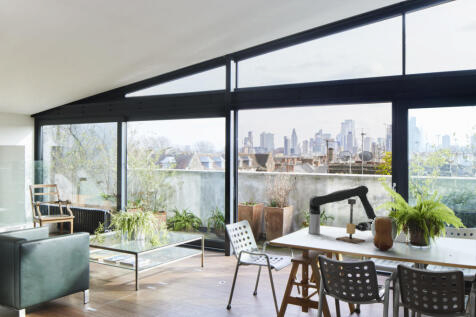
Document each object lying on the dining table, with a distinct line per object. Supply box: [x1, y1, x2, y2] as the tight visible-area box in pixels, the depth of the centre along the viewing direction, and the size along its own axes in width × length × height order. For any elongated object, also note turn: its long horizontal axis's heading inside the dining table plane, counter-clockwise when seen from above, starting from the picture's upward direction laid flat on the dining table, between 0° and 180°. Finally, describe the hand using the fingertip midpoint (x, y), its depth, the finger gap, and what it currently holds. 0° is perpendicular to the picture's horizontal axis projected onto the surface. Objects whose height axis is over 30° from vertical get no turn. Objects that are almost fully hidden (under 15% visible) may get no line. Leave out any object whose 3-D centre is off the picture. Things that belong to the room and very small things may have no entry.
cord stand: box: [335, 198, 366, 244], centre depth 344 cm, size 18×14×34 cm
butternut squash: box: [373, 216, 394, 252], centre depth 311 cm, size 14×13×25 cm
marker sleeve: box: [345, 222, 357, 235], centre depth 344 cm, size 5×5×8 cm
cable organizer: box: [394, 231, 406, 243], centre depth 348 cm, size 15×11×12 cm
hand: (353, 228), depth 346 cm, fingers open, 8 cm apart
